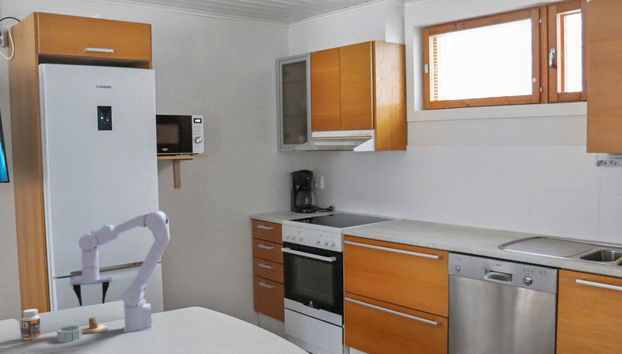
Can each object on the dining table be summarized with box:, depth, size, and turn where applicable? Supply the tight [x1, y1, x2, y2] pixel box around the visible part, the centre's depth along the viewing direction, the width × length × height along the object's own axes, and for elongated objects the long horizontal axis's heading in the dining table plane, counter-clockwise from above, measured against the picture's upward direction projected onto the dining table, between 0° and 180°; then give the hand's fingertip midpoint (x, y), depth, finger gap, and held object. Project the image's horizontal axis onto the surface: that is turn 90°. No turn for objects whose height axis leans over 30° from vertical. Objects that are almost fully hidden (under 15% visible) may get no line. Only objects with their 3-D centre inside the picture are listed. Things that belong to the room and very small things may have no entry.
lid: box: [82, 316, 107, 335], centre depth 219 cm, size 9×9×4 cm
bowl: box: [56, 325, 83, 343], centre depth 209 cm, size 8×8×4 cm
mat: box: [82, 327, 109, 336], centre depth 219 cm, size 10×10×1 cm
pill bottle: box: [21, 308, 41, 341], centre depth 212 cm, size 6×6×10 cm
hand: (92, 304), depth 219 cm, fingers open, 7 cm apart
